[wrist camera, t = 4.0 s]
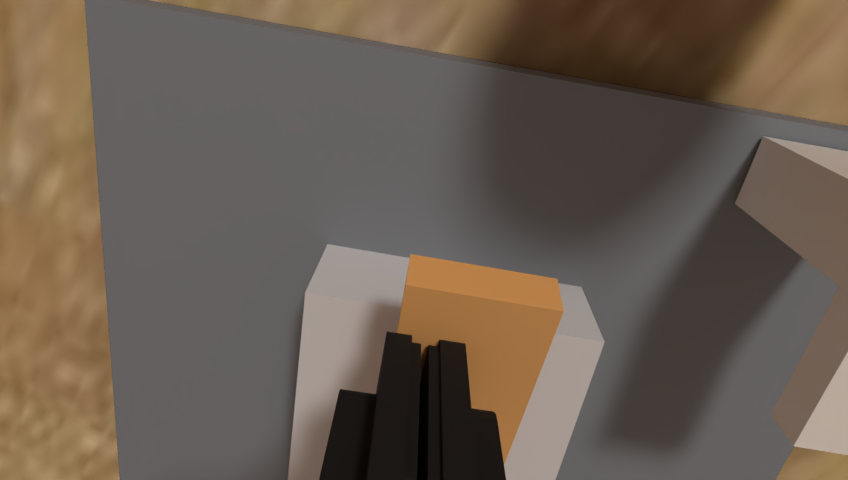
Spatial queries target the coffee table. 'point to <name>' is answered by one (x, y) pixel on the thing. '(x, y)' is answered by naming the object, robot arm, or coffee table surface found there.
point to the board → (427, 247)
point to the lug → (828, 252)
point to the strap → (485, 329)
